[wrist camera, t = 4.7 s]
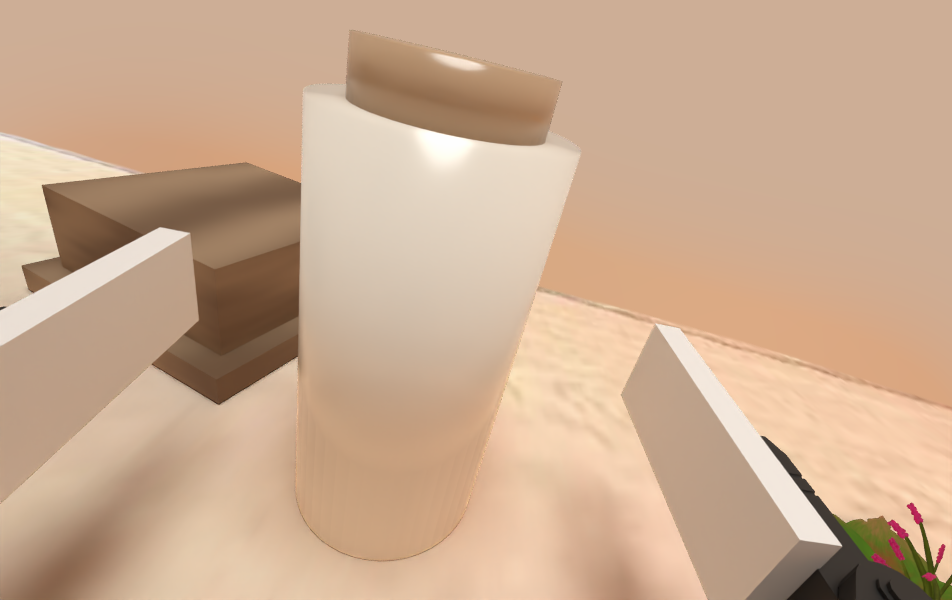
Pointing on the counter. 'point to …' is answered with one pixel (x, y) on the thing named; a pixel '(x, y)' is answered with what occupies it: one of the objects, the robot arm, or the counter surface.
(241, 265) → the pedestal
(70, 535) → the counter surface
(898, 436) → the counter surface
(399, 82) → the canister
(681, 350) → the robot arm
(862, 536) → the lily flower
